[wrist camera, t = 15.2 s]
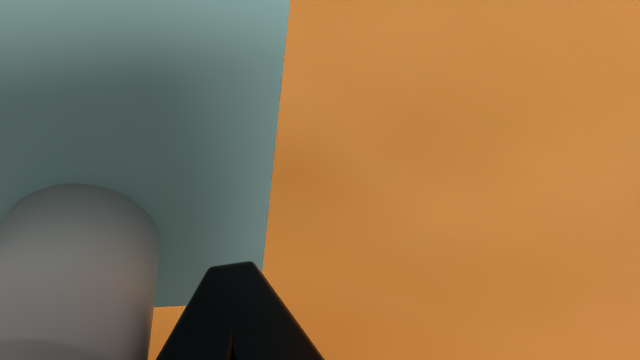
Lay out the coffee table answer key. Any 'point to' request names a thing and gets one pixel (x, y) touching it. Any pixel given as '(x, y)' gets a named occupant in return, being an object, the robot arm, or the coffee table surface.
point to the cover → (128, 162)
